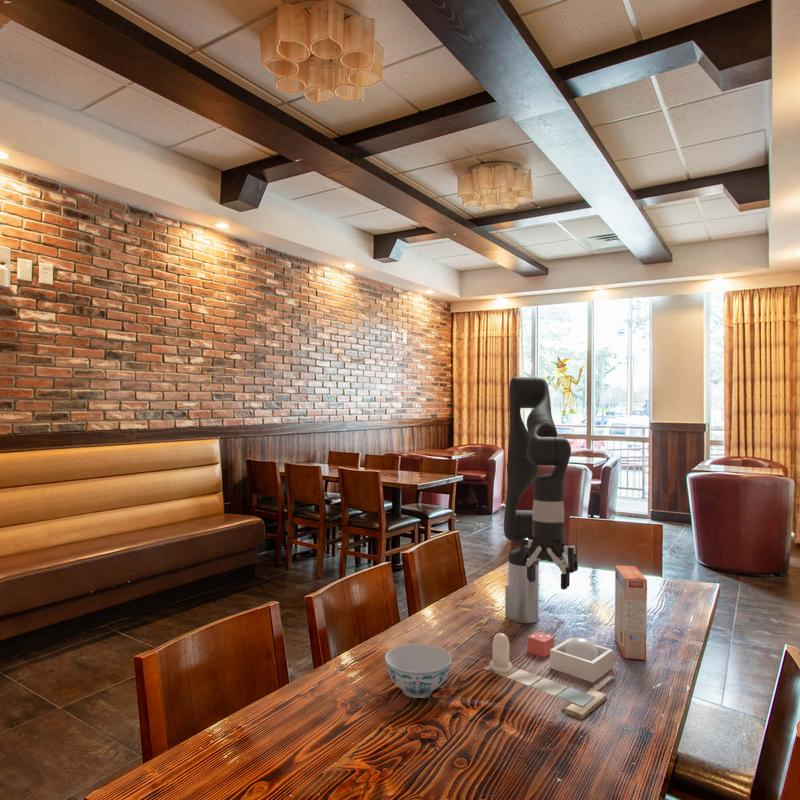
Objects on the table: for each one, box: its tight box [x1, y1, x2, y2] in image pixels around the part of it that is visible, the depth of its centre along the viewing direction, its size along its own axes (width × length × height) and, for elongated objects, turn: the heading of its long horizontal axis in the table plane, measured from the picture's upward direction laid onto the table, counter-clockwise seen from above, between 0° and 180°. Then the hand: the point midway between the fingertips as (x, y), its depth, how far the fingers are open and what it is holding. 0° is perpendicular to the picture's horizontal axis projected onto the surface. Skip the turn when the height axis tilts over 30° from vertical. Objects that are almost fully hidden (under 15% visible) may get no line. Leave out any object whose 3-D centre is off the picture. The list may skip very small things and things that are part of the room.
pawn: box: [489, 632, 513, 674], centre depth 139 cm, size 5×5×8 cm
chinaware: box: [384, 643, 452, 699], centre depth 129 cm, size 15×15×8 cm
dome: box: [565, 636, 599, 661], centre depth 140 cm, size 8×8×8 cm
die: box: [526, 631, 555, 658], centre depth 149 cm, size 5×5×5 cm
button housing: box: [549, 637, 614, 688], centre depth 140 cm, size 11×11×6 cm
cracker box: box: [614, 564, 648, 661], centre depth 154 cm, size 14×6×21 cm, turn 168°
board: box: [483, 664, 608, 720], centre depth 132 cm, size 28×12×1 cm, turn 47°
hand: (547, 585), depth 140 cm, fingers open, 8 cm apart
